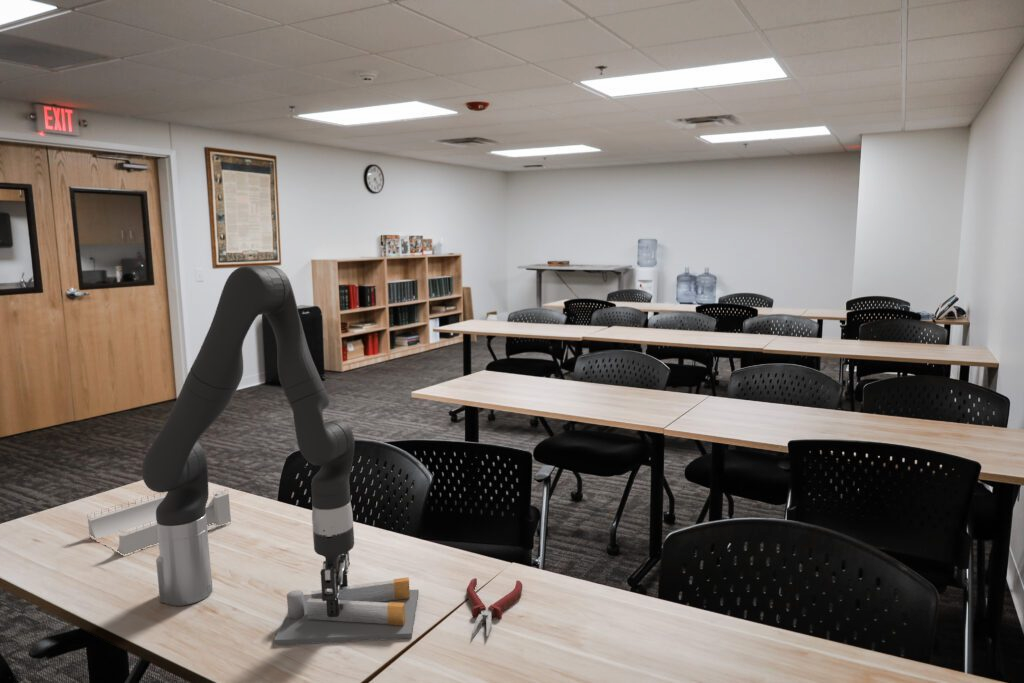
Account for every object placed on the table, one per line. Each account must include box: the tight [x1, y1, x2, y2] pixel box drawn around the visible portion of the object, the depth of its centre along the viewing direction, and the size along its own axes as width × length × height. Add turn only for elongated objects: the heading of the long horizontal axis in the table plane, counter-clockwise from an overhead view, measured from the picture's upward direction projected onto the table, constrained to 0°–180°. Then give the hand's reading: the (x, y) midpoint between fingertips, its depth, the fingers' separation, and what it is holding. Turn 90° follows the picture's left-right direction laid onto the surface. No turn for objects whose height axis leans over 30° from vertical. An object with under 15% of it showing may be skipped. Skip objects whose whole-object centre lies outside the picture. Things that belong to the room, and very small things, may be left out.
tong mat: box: [273, 589, 419, 646], centre depth 131 cm, size 25×16×6 cm, turn 93°
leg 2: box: [307, 598, 406, 626], centre depth 128 cm, size 19×1×4 cm, turn 82°
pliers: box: [466, 577, 523, 639], centre depth 133 cm, size 11×20×3 cm, turn 172°
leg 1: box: [310, 577, 410, 602], centre depth 134 cm, size 19×1×4 cm, turn 104°
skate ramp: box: [87, 488, 232, 555], centre depth 173 cm, size 25×23×10 cm
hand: (338, 604), depth 131 cm, fingers open, 8 cm apart
